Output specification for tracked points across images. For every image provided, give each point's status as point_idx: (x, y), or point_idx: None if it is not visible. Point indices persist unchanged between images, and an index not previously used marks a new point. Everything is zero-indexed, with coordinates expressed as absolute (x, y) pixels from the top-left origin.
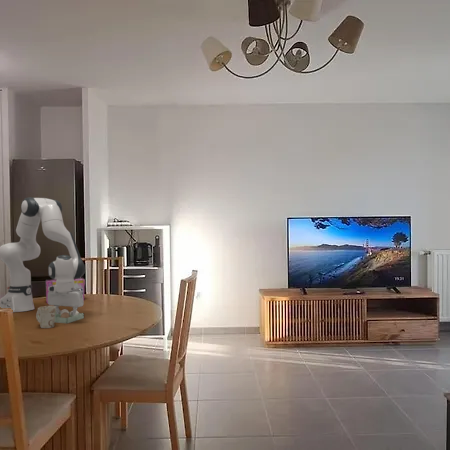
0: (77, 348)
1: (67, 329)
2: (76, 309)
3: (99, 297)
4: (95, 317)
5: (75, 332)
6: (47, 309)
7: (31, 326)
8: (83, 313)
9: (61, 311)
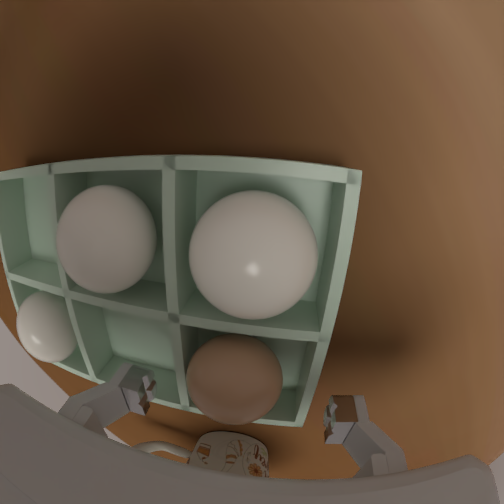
0: None
1: None
2: (389, 447)
3: None
4: (407, 61)
5: (417, 458)
6: None
7: (129, 421)
8: (360, 178)
9: (82, 286)
